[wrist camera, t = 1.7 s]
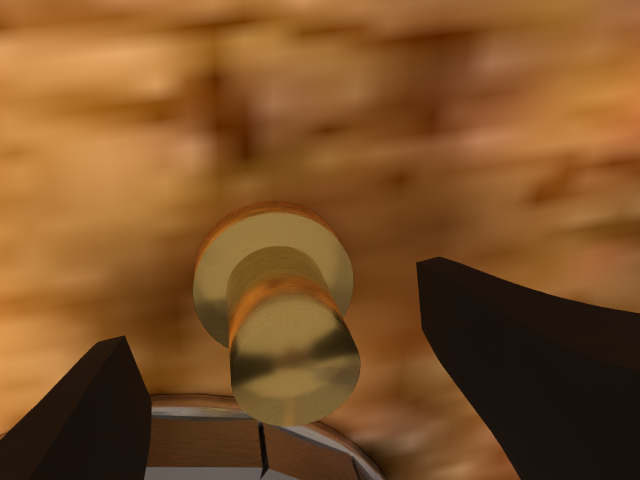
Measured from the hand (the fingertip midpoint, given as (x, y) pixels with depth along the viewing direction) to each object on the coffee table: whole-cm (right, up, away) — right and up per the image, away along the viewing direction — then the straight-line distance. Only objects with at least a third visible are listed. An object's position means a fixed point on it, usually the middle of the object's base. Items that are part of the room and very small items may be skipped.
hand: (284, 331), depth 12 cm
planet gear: (-1, +1, +3) cm, 3 cm away
